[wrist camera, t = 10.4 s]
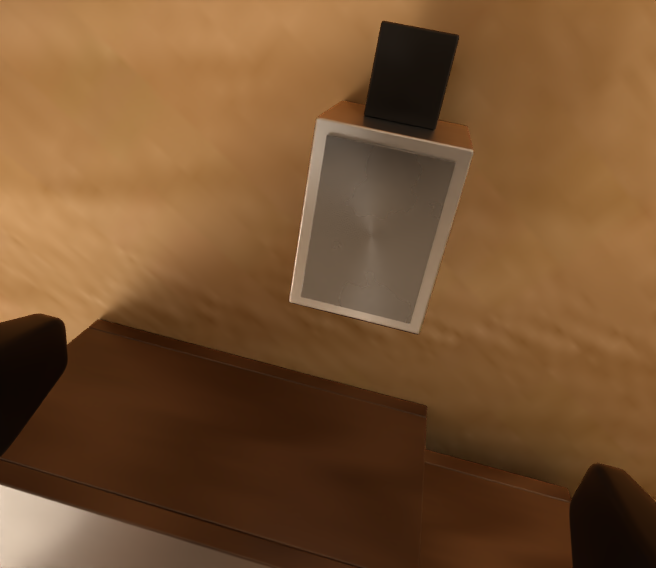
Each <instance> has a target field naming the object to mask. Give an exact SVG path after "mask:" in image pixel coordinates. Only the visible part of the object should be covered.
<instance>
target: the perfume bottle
mask: <svg viewBox="0 0 656 568" xmlns="http://www.w3.org/2000/svg"><path fill="white" fill-rule="evenodd" d="M458 40H459V35H456V34H451V33H446V32H440V31H435V30H430V29H425V28H419V27H414V26H409V25H403V24H398V23H393V22H387V21H382V23H381V27H380V32H379V37H378V43H377V48H376V53H375V58H374V63H373V69H372V74H371V79H370V84H369V90H368V95H367V100H366V105H363V104H358V103H353V102H348V101H341V102H339V103H338V104H336V105H335V106H333V107H332V108H330V109H329V110H327V111H326V112H324V113H322V114H321V115H319V116H318V117H317V118H316V122H315V128H314V135H313V142H312V148H311V155H310V162H309V168H308V175H307V182H306V188H305V195H304V202H303V208H302V215H301V221H300V228H299V235H298V241H297V248H296V255H295V261H294V268H293V275H292V281H291V288H290V295H289V302H290V303H294V304H298V305H302V306H306V307H310V308H314V309H318V310H322V311H326V312H330V313H334V314H338V315H342V316H346V317H350V318H354V319H358V320H362V321H366V322H370V323H374V324H378V325H382V326H386V327H390V328H394V329H398V330H402V331H406V332H410V333H414V334H420V332H421V329H422V325H423V322H424V319H425V315H426V312H427V309H428V305H429V302H430V298H431V295H432V292H433V288H434V285H435V282H436V278H437V275H438V272H439V268H440V265H441V261H442V258H443V255H444V251H445V248H446V245H447V241H448V238H449V235H450V231H451V228H452V224H453V221H454V218H455V214H456V211H457V208H458V204H459V201H460V198H461V194H462V191H463V187H464V184H465V181H466V177H467V174H468V171H469V167H470V164H471V161H472V157H473V154H474V149H473V145H472V141H471V137H470V133H469V129H468V127H467V126H465V125H460V124H455V123H450V122H445V121H440V120H438V118H439V114H440V110H441V106H442V102H443V99H444V95H445V91H446V87H447V83H448V79H449V75H450V71H451V67H452V64H453V60H454V56H455V52H456V48H457V44H458Z"/></svg>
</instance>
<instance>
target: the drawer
mask: <svg viewBox="0 0 656 568" xmlns="http://www.w3.org/2000/svg"><path fill="white" fill-rule="evenodd" d="M570 503H571V498H570V494H569V490H568V488H565V487H562V486H558V485H554V484H551V483H547V482H543V481H540V480H536V479H532V478H529V477H525V476H521V475H518V474H514V473H510V472H507V471H503V470H499V469H496V468H492V467H488V466H485V465H481V464H477V463H474V462H470V461H467V460H463V459H459V458H456V457H452V456H448V455H445V454H441V453H437V452H434V451H430V450H426V449H425V462H424V482H423V503H422V523H421V544H420V564H419V568H573V563H572V549H571V534H570V519H569V508H570Z"/></svg>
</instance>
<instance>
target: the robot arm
mask: <svg viewBox="0 0 656 568" xmlns="http://www.w3.org/2000/svg"><path fill="white" fill-rule="evenodd" d="M67 361H68V353H67V342H66V330H65V324H64V323H63V321H62V320H61V319H59V318H56V317H52V316H48V315H45V314H33V315H29V316H25V317H21V318H17V319H13V320H9V321H5V322H1V323H0V457H1V456H2V455H3V454H4V453H5V451H6V450H7V449H8V448H9V447H10V445H11V444H12V443H13V442H14V440H15V439H16V438H17V436H18V435H19V434H20V432H21V431H22V430H23V428H24V427H25V425H26V424H27V423H28V421H29V420H30V418H31V417H32V416H33V414H34V413H35V411H36V410H37V409H38V407H39V406H40V405H41V403H42V402H43V400H44V399H45V398H46V396H47V395H48V393H49V392H50V391H51V389H52V388H53V386H54V385H55V384H56V382H57V381H58V380H59V378H60V377H61V375H62V374H63V372H64V370H65V368H66V366H67ZM569 519H570V534H571V549H572V563H573V568H656V502H655V501H654V500H653V499H652V498H651V497H650V496H649V495H648V494H647V493H646V492H645V491H644V490H643V489H642V488H641V487H640V486H639V485H638V484H637V483H636V482H635V481H634V480H633V479H632V478H631V477H630V476H629V475H628V474H627V473H626V472H625V471H624V470H622V469H619V468H615V467H612V466H608V465H604V464H600V463H596V464H593V465H592V466H590V468H589V469H588V471H587V472H586V474H585V476H584V478H583V480H582V481H581V483H580V485H579V487H578V489H577V490H576V492H575V494H574V496H573V498H572V500H571V503H570V508H569Z"/></svg>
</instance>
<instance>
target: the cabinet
mask: <svg viewBox="0 0 656 568" xmlns="http://www.w3.org/2000/svg"><path fill="white" fill-rule="evenodd" d="M67 353H68V361H67V366H66V368H65V370H64V372H63V374H62V375H61V377H60V378H59V380H58V381H57V382H56V384H55V385H54V386H53V388H52V389H51V391H50V392H49V393H48V395H47V396H46V398H45V399H44V400H43V402H42V403H41V405H40V406H39V407H38V409H37V410H36V411H35V413H34V414H33V416H32V417H31V418H30V420H29V421H28V423H27V424H26V425H25V427H24V428H23V430H22V431H21V432H20V434H19V435H18V436H17V438H16V439H15V440H14V442H13V443H12V444H11V445H10V447H9V448H8V449H7V450H6V451H5V453H4V454H3V455H2V456H1V457H0V568H419V564H420V544H421V523H422V503H423V482H424V462H425V441H426V421H427V420H426V418H427V406H425V405H421V404H417V403H413V402H409V401H406V400H402V399H398V398H394V397H391V396H387V395H383V394H379V393H376V392H372V391H368V390H364V389H360V388H357V387H353V386H349V385H345V384H342V383H338V382H334V381H330V380H326V379H323V378H319V377H315V376H311V375H308V374H304V373H300V372H296V371H292V370H289V369H285V368H281V367H277V366H274V365H270V364H266V363H262V362H258V361H255V360H251V359H247V358H243V357H240V356H236V355H232V354H228V353H224V352H221V351H217V350H213V349H209V348H206V347H202V346H198V345H194V344H190V343H187V342H183V341H179V340H175V339H172V338H168V337H164V336H160V335H157V334H153V333H149V332H145V331H141V330H138V329H134V328H130V327H126V326H123V325H119V324H115V323H111V322H107V321H104V320H100V319H98V320H97V321H95V322H94V323H93V324H92V325H91V326H89V328H87V329H86V330H84V331H83V332H82V333H81V334H80V335H78V336H77V337H76V338H75V339H74V340H72V341H71V342H70V343H69V344H68V345H67Z"/></svg>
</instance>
